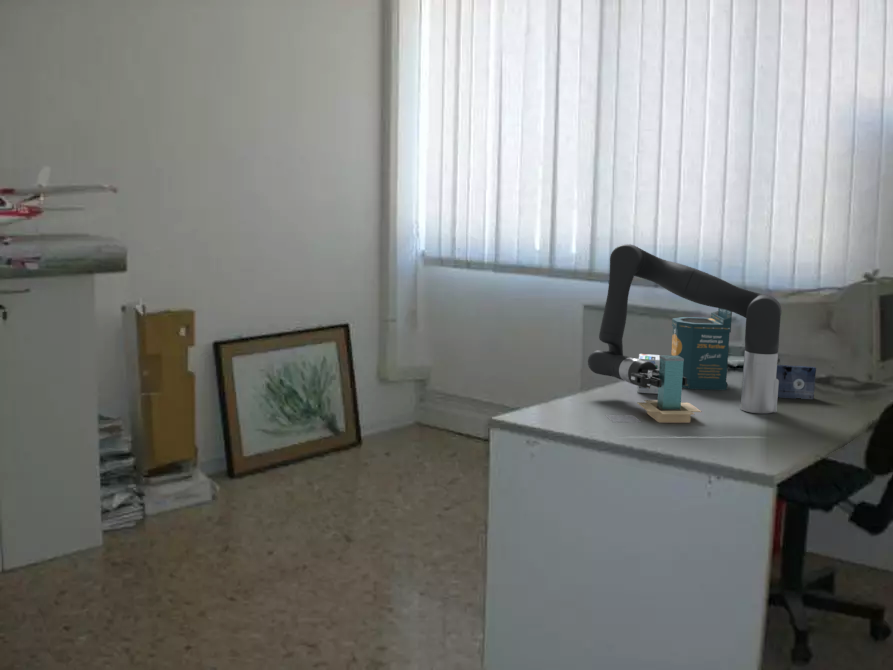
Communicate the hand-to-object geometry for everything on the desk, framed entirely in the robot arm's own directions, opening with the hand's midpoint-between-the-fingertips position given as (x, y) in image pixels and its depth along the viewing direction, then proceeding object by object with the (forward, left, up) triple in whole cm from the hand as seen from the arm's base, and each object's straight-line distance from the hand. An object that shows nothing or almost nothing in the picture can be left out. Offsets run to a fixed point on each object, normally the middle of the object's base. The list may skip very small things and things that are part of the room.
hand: (673, 382), depth 280 cm
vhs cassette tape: (-46, -31, -11) cm, 56 cm away
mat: (+13, 0, -11) cm, 17 cm away
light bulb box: (-6, -40, -11) cm, 42 cm away
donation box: (-25, -50, -11) cm, 57 cm away
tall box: (0, -1, -10) cm, 10 cm away
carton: (0, -1, -11) cm, 11 cm away
